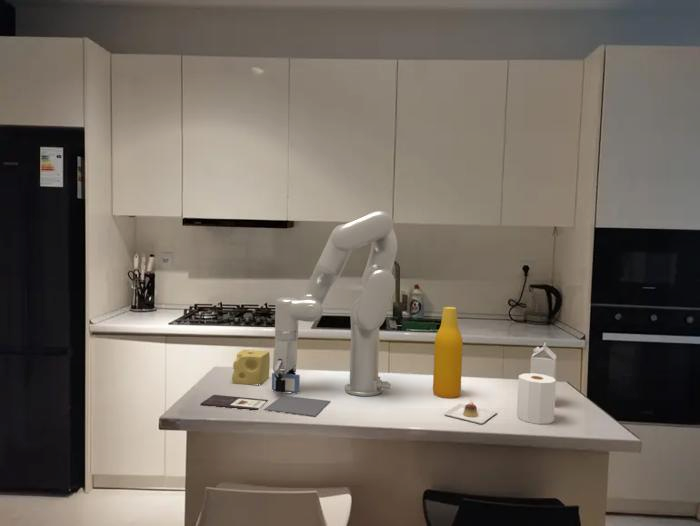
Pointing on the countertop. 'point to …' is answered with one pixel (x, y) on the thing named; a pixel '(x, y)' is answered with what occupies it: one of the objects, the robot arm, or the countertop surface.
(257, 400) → the chocolate bar
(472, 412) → the dessert
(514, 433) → the countertop surface
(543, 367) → the milk carton
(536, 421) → the toilet paper
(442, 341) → the beer bottle
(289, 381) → the card box
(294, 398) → the mat
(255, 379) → the cheese
